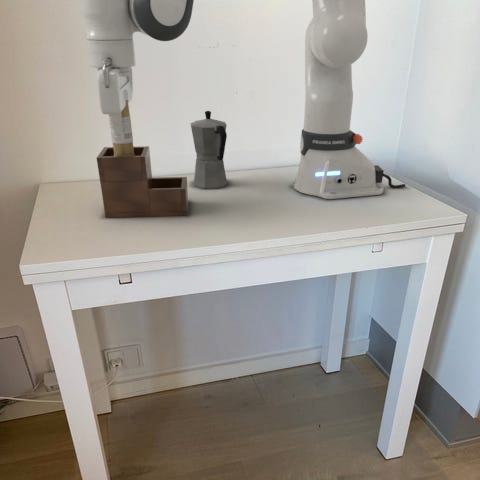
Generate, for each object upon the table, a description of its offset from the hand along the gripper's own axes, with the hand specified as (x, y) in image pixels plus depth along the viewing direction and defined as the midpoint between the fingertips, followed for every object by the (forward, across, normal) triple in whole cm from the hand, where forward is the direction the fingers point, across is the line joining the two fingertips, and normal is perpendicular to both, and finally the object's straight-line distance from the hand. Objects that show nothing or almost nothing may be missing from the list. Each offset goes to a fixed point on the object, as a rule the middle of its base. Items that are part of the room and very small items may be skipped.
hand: (121, 130), depth 105 cm
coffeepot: (+18, +18, -19) cm, 32 cm away
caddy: (+17, 0, -4) cm, 18 cm away
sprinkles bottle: (+6, 0, 0) cm, 6 cm away
